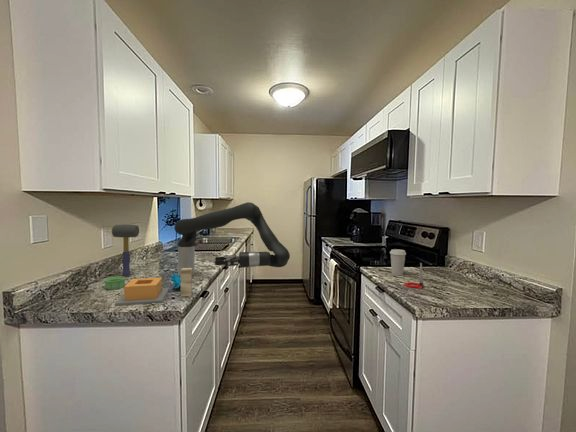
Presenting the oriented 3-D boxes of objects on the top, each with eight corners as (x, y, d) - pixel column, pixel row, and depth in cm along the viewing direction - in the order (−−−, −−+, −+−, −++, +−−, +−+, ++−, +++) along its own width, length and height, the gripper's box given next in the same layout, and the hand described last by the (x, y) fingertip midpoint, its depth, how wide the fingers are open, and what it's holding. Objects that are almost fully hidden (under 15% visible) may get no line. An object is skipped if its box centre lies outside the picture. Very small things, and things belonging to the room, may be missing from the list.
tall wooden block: (182, 293, 131) (181, 268, 131) (192, 292, 132) (192, 267, 132) (180, 296, 127) (180, 270, 126) (191, 295, 128) (191, 270, 127)
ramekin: (116, 290, 134) (115, 281, 134) (99, 289, 135) (99, 280, 135) (129, 285, 143) (129, 276, 143) (114, 284, 144) (114, 275, 144)
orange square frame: (128, 292, 132) (128, 277, 131) (169, 289, 136) (169, 275, 136) (114, 305, 114) (114, 289, 114) (161, 302, 119) (161, 286, 118)
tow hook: (402, 287, 147) (421, 289, 142) (402, 262, 147) (421, 264, 142) (406, 283, 154) (424, 286, 149) (406, 260, 154) (424, 262, 148)
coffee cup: (386, 274, 172) (387, 250, 172) (392, 271, 180) (393, 248, 179) (402, 277, 166) (403, 252, 165) (407, 274, 173) (408, 250, 173)
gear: (181, 289, 131) (168, 273, 133) (172, 298, 132) (160, 282, 134) (193, 286, 142) (182, 271, 144) (185, 294, 142) (174, 279, 144)
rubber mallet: (111, 278, 155) (110, 224, 153) (117, 274, 162) (117, 223, 161) (135, 277, 156) (134, 225, 155) (140, 274, 164) (139, 224, 162)
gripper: (247, 249, 143) (215, 250, 139) (250, 254, 129) (214, 255, 125) (247, 264, 143) (215, 265, 139) (250, 270, 129) (215, 272, 125)
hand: (215, 261), depth 132 cm, fingers open, 8 cm apart
